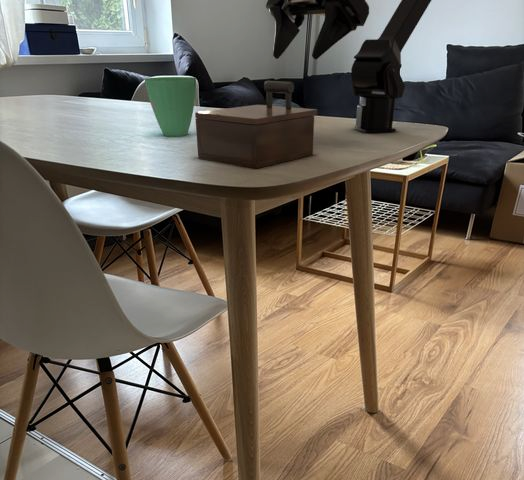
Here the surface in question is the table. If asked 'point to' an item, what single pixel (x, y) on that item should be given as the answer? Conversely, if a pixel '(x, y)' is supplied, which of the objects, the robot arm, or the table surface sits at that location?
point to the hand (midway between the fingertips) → (293, 57)
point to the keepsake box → (255, 141)
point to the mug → (172, 103)
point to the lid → (261, 108)
